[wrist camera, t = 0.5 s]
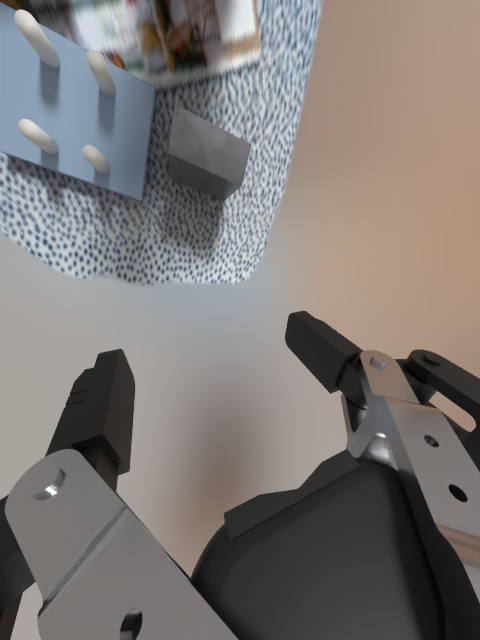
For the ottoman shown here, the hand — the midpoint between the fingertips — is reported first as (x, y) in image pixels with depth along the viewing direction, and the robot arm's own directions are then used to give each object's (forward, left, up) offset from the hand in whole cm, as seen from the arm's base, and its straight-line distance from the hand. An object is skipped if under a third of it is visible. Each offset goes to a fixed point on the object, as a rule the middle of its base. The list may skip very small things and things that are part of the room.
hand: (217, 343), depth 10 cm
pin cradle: (-14, -15, -26) cm, 33 cm away
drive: (-14, -1, -26) cm, 29 cm away
